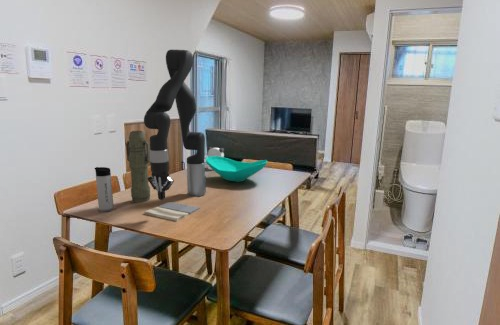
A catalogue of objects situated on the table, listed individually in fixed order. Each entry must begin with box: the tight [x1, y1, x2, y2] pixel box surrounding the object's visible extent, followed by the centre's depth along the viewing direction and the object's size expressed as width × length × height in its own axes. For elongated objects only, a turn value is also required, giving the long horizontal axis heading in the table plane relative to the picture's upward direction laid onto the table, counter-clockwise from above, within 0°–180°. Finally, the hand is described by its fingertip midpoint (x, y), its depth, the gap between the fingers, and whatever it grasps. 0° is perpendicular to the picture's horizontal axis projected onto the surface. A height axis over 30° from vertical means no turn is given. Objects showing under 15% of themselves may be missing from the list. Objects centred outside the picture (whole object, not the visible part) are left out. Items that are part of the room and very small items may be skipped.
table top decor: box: [205, 156, 268, 183], centre depth 205 cm, size 40×28×13 cm
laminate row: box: [157, 201, 201, 215], centre depth 153 cm, size 8×18×2 cm, turn 64°
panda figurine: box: [207, 146, 225, 171], centre depth 237 cm, size 12×11×15 cm
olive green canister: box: [125, 130, 151, 204], centre depth 162 cm, size 9×12×35 cm
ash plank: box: [143, 206, 190, 222], centre depth 146 cm, size 8×18×2 cm, turn 64°
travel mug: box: [94, 166, 115, 213], centre depth 151 cm, size 6×7×20 cm
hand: (161, 199), depth 142 cm, fingers closed
